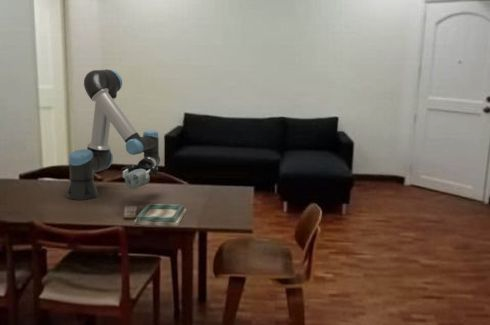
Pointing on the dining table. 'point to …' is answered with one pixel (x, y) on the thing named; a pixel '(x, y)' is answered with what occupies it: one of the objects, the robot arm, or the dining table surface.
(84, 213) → the dining table surface
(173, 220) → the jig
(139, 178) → the spool
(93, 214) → the dining table surface
